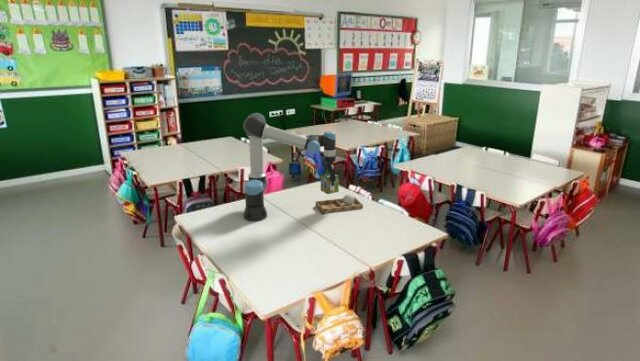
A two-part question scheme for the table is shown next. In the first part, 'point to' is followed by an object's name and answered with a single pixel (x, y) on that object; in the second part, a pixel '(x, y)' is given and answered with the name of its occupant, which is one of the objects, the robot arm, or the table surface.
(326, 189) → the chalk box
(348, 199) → the grey ball
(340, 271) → the table surface
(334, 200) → the tray
